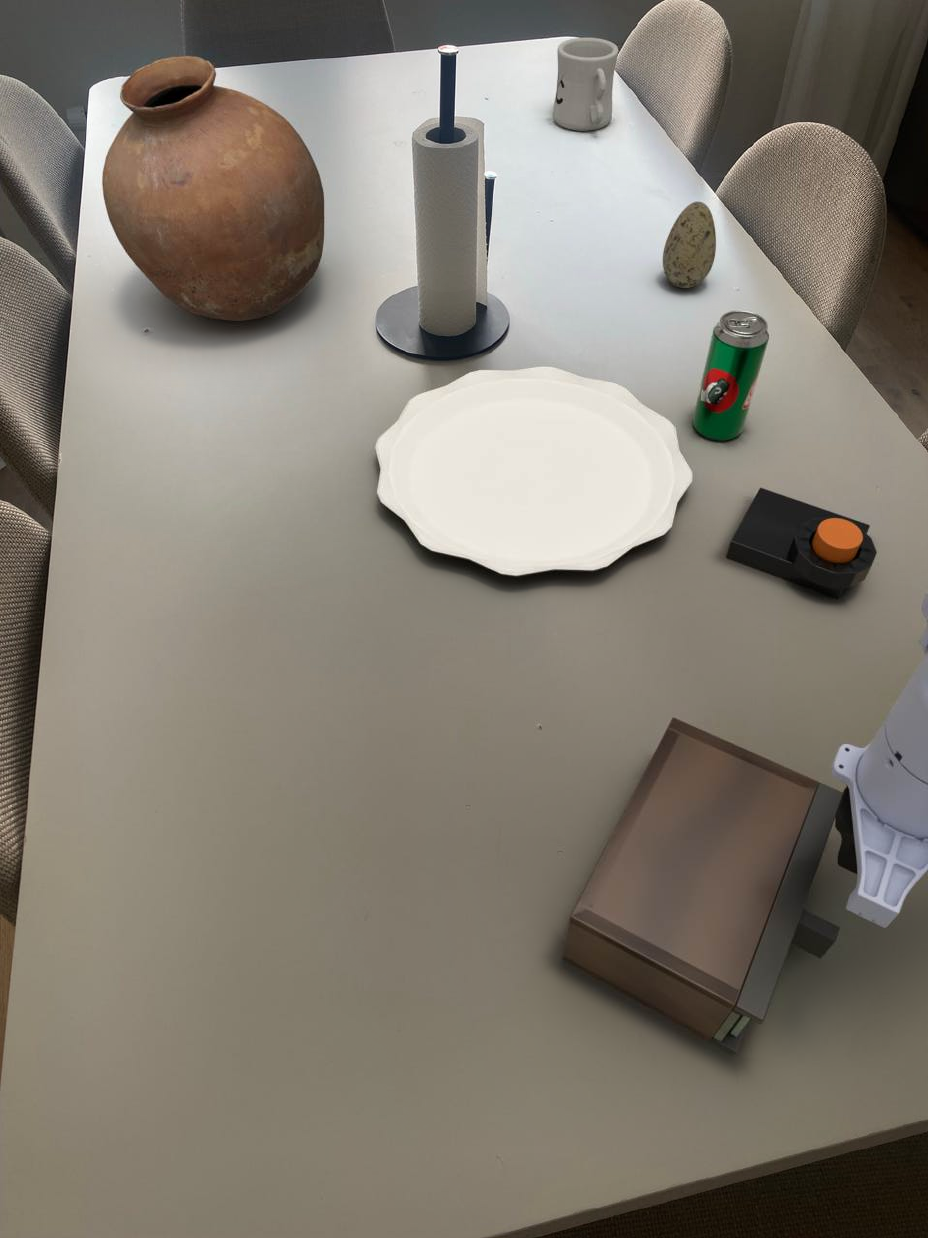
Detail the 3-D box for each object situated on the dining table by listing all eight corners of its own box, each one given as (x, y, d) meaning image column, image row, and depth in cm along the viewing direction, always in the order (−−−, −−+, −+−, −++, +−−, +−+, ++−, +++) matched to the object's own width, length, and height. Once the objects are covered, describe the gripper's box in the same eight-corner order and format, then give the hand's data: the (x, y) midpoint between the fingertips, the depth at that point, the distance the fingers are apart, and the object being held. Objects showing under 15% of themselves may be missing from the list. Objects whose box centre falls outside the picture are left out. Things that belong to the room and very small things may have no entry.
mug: (544, 111, 143) (548, 39, 135) (599, 105, 144) (607, 33, 136) (569, 144, 135) (575, 70, 127) (627, 138, 136) (636, 64, 129)
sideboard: (812, 842, 63) (844, 792, 58) (735, 1056, 54) (763, 1021, 49) (656, 769, 67) (673, 716, 62) (560, 959, 58) (569, 916, 53)
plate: (373, 394, 96) (371, 374, 95) (646, 377, 98) (650, 358, 96) (382, 602, 78) (380, 583, 76) (720, 578, 79) (726, 559, 77)
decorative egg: (655, 294, 108) (669, 212, 101) (660, 269, 112) (674, 187, 104) (706, 301, 108) (724, 218, 100) (709, 275, 111) (727, 193, 104)
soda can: (746, 444, 91) (777, 338, 81) (695, 444, 91) (720, 338, 82) (737, 412, 94) (766, 307, 85) (688, 412, 94) (711, 307, 85)
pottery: (360, 263, 114) (337, 36, 94) (288, 369, 99) (243, 127, 80) (194, 239, 118) (140, 18, 99) (102, 338, 104) (17, 101, 84)
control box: (876, 547, 81) (892, 514, 78) (848, 616, 76) (864, 584, 73) (754, 504, 85) (765, 471, 82) (720, 567, 80) (730, 535, 77)
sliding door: (821, 944, 58) (846, 913, 54) (782, 1062, 53) (806, 1038, 49) (772, 920, 59) (793, 887, 55) (730, 1033, 54) (749, 1007, 50)
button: (861, 542, 77) (868, 527, 75) (849, 569, 75) (856, 554, 74) (818, 527, 78) (824, 512, 77) (806, 553, 76) (812, 538, 75)
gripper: (898, 612, 50) (825, 745, 60) (821, 823, 42) (753, 934, 52) (1036, 663, 47) (935, 792, 58) (984, 897, 39) (878, 997, 50)
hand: (856, 863), depth 55 cm, fingers closed
